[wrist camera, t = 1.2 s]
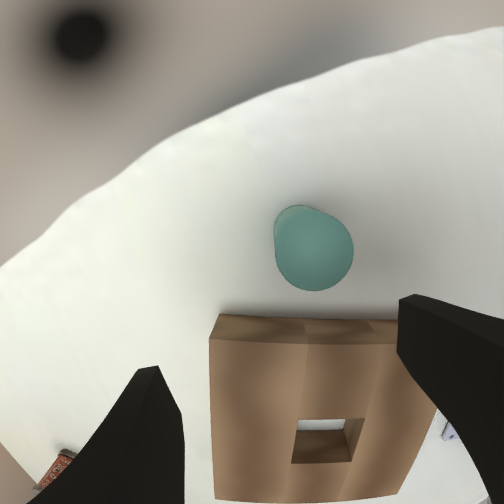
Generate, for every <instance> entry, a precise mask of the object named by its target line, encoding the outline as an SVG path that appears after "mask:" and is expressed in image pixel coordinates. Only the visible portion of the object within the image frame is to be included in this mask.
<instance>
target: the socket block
mask: <svg viewBox="0 0 504 504" xmlns="http://www.w3.org/2000/svg"><path fill="white" fill-rule="evenodd" d="M397 333H398V320H340V319H302V318H278V317H258V316H241V315H226V314H219V316H218V318H217V321H216V323H215V325H214V328H213V330H212V333H211V335H210V337H209V376H210V412H211V438H212V459H213V477H214V493H215V499H219V500H228V501H239V502H254V503H285V504H294V503H325V502H340V501H351V500H360V499H368V498H376V497H383V496H389V495H395V494H397V493H398V491H399V489H400V488H401V486H402V484H403V482H404V480H405V478H406V476H407V474H408V472H409V471H410V469H411V467H412V465H413V462H414V460H415V458H416V456H417V454H418V452H419V450H420V448H421V446H422V443H423V441H424V439H425V437H426V434H427V432H428V430H429V427H430V425H431V422H432V420H433V417H434V415H435V412H436V410H437V407H436V406H435V404H434V403H433V402H432V401H431V400H430V398H429V397H428V396H427V395H426V394H425V392H424V391H423V390H422V389H421V388H420V386H419V385H418V384H417V383H416V382H415V380H414V379H413V378H412V377H411V375H410V374H409V372H408V371H407V369H406V367H405V366H404V364H403V363H402V361H401V359H400V358H399V356H398V354H397V353H396V348H397ZM323 419H346V420H345V424H344V428H343V430H324V431H296V430H297V424H298V420H323Z"/></svg>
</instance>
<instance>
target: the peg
mask: <svg viewBox="0 0 504 504" xmlns="http://www.w3.org/2000/svg"><path fill="white" fill-rule="evenodd" d="M274 242H275V256H276V262H277V266H278V268H279V270H280V272H281V274H282V275H283V276H284V278H285V279H286V280H287V281H288V282H289V283H291V284H292V285H294V286H296V287H297V288H300V289H303V290H307V291H319V290H324V289H327V288H330V287H332V286H334V285H335V284H337V283H338V282H339V281H340V280H341V279H342V278H343V277H344V276H345V275H346V273H347V272H348V270H349V268H350V266H351V263H352V260H353V243H352V239H351V236H350V234H349V232H348V230H347V229H346V228H345V226H344V225H343V224H342V223H341V222H340V221H338V220H337V219H335V218H334V217H332V216H329V215H327V214H324V213H322V212H319V211H317V210H314V209H312V208H309V207H306V206H302V205H296V206H291V207H288V208H286V209H285V210H283V211H282V212H281V213H280V214H279V216H278V217H277V219H276V221H275V224H274Z"/></svg>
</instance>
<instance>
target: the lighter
mask: <svg viewBox="0 0 504 504" xmlns="http://www.w3.org/2000/svg"><path fill="white" fill-rule="evenodd" d="M77 455H78V454H77V453H75V452H72V451H70V450H67V449H62V450H61V451H60V452H59V454H58V458H57V459H56V460H55V462H54V463H53V464H52V466H51V467H50V468H49V470H48V471H47V473H46V474H45V475H44V477H43V478H42V479H41V481H40V482H39V483H38V485H35V486H34V487H33V489H32V490H31V491H32V493H33V495H34V496H35V497H36V496H37V495H38V494H39V493H40V492H41V491H42V490H43V489H44V488H45V487H47V486H48V485H49V484H50V483H51V482H52V481H53V480H54V479H55V478H56V477H57V476H58V475H59V474H60V473H61V472H62V471H63V470H64V469H65V468H66V467H67V466H68V465H69V464H70V463H71V461H72V460H73V459H74V458H75V457H76V456H77Z"/></svg>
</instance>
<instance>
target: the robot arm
mask: <svg viewBox="0 0 504 504" xmlns="http://www.w3.org/2000/svg"><path fill="white" fill-rule="evenodd" d="M396 353H397V354H398V356H399V358H400V359H401V361H402V363H403V364H404V366H405V367H406V369H407V371H408V372H409V374H410V375H411V377H412V378H413V379H414V380H415V382H416V383H417V384H418V385H419V386H420V388H421V389H422V390H423V391H424V392H425V394H426V395H427V396H428V397H429V398H430V400H431V401H432V402H433V403H434V404H435V406H436V407H437V408H438V409H439V410H440V412H441V413H442V414H443V415H444V416H445V418H446V419H447V420H448V421H449V422H448V424H447V427H446V429H445V431H444V433H443V436H442V439H443V441H448V440H452V439H456V438H460V439H461V441H462V442H463V444H464V446H465V447H466V449H467V451H468V452H469V454H470V456H471V458H472V460H473V462H474V464H475V466H476V468H477V470H478V471H479V474H480V476H481V478H482V480H483V483H484V485H485V487H486V490H487V492H488V494H489V496H488V498H487V504H504V319H500V318H496V317H492V316H488V315H485V314H481V313H478V312H475V311H471V310H468V309H465V308H462V307H459V306H455V305H452V304H449V303H446V302H443V301H440V300H436V299H433V298H430V297H426V296H422V295H418V294H413V295H410V296H408V297H405V298H402V299H399V311H398V333H397V348H396ZM184 473H185V441H184V432H183V423H182V415H181V412H180V410H179V408H178V406H177V404H176V402H175V400H174V398H173V396H172V394H171V392H170V390H169V388H168V386H167V384H166V382H165V379H164V377H163V375H162V373H161V371H160V369H159V366H158V365H157V366H152V367H147V368H141V369H138V370H137V371H136V373H135V374H134V376H133V377H132V379H131V380H130V382H129V383H128V385H127V386H126V388H125V389H124V391H123V392H122V394H121V395H120V397H119V398H118V400H117V401H116V403H115V404H114V406H113V407H112V409H111V410H110V412H109V413H108V415H107V416H106V418H105V419H104V421H103V422H102V423H101V425H100V426H99V427H98V429H97V430H96V431H95V433H94V434H93V435H92V437H91V438H90V439H89V441H88V442H87V443H86V445H85V446H84V447H83V448H82V450H81V451H80V452H79V453H78V455H77V456H76V457H75V458H74V459H73V460H72V461H71V463H70V464H69V465H68V466H67V467H66V468H65V469H64V470H63V471H62V472H61V473H60V474H59V475H58V476H57V477H56V478H55V479H54V480H53V481H52V482H51V483H50V484H49V485H48V486H47V487H45V488H44V489H43V490H42V491H41V492H40V493H39V494H38V495H37V496H36V497H34V498H33V499H32V500H31V501H30V502H28V503H27V504H185V502H184Z"/></svg>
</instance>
